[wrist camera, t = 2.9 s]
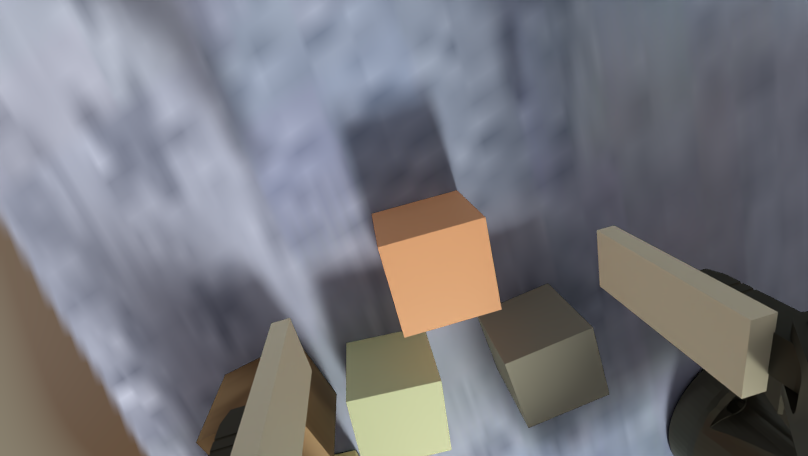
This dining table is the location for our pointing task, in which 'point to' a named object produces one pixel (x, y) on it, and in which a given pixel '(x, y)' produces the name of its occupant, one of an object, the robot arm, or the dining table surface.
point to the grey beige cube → (545, 354)
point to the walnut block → (318, 412)
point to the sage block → (395, 396)
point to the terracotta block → (437, 262)
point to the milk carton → (348, 453)
